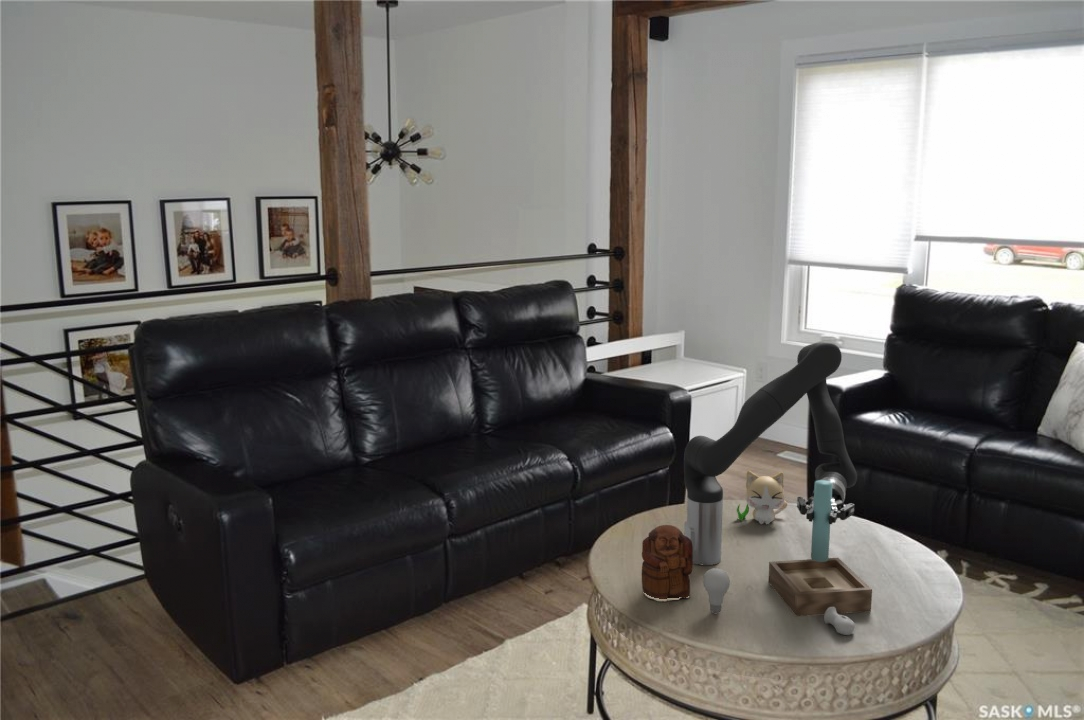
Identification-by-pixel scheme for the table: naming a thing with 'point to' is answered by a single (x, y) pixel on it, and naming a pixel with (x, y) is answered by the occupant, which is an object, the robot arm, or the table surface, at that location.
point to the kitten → (764, 497)
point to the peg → (821, 520)
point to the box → (819, 586)
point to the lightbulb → (716, 587)
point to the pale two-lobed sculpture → (839, 621)
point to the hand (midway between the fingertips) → (820, 518)
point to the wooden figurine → (666, 563)
